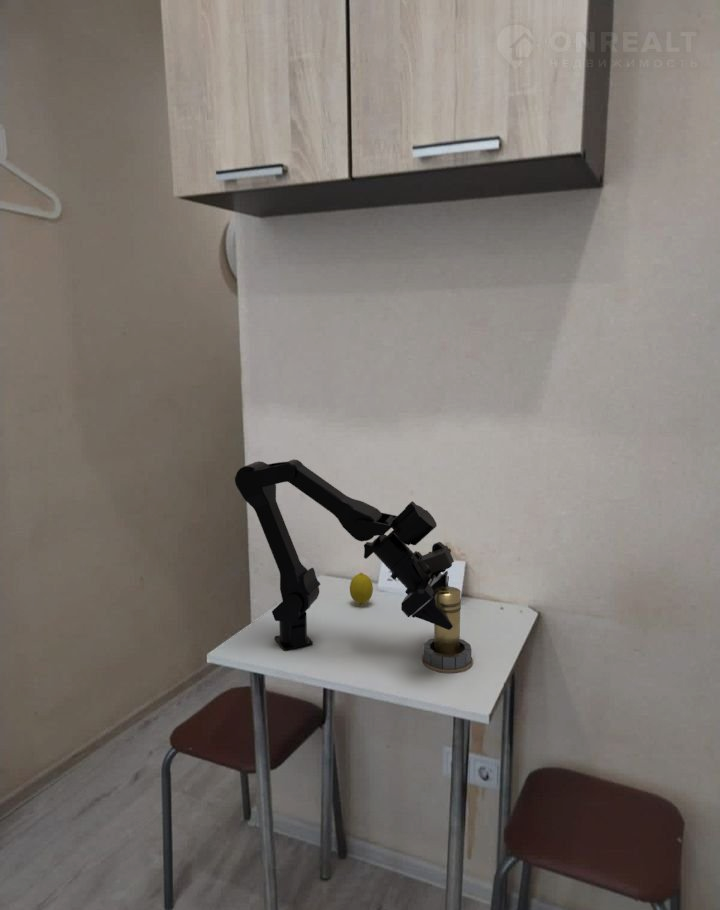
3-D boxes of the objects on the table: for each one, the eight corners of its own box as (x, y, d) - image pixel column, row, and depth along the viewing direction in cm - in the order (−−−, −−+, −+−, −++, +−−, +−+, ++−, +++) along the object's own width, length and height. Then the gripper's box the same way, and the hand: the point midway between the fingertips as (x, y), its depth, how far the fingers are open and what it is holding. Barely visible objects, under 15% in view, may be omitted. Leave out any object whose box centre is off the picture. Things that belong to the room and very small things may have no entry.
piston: (431, 653, 134) (431, 586, 132) (456, 651, 135) (457, 585, 132) (436, 665, 129) (437, 596, 127) (462, 663, 130) (464, 595, 127)
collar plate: (412, 656, 134) (412, 653, 134) (453, 645, 139) (453, 643, 139) (439, 677, 125) (439, 675, 125) (483, 666, 130) (483, 663, 130)
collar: (415, 654, 134) (415, 642, 134) (453, 644, 138) (453, 633, 138) (440, 673, 126) (440, 661, 125) (480, 663, 130) (480, 651, 129)
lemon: (359, 598, 165) (359, 567, 164) (377, 603, 162) (377, 572, 160) (345, 605, 161) (344, 573, 160) (363, 611, 157) (362, 578, 156)
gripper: (419, 547, 120) (479, 612, 119) (437, 521, 138) (490, 577, 137) (376, 585, 124) (435, 648, 122) (399, 555, 141) (451, 610, 140)
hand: (454, 618), depth 130 cm, fingers open, 9 cm apart
